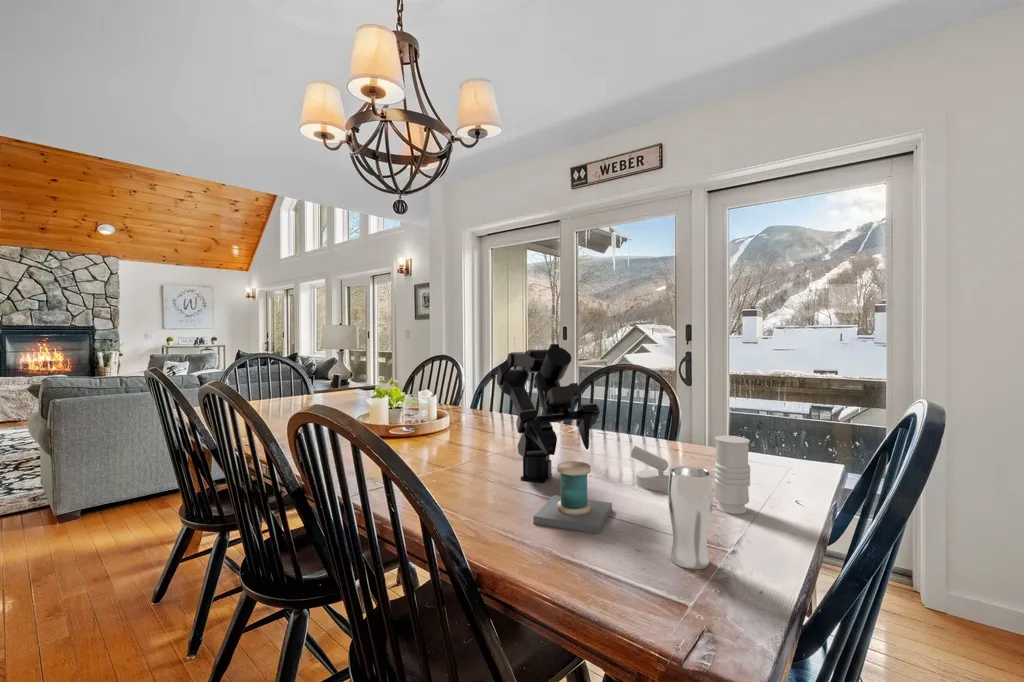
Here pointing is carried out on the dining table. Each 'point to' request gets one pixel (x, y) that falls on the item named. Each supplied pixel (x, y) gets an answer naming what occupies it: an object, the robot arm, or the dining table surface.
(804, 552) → the dining table surface
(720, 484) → the white ribbed cylinder
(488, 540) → the dining table surface
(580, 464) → the cord spool
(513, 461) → the dining table surface
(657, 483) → the white spotlight lamp
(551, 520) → the slate board
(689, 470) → the metal tumbler
